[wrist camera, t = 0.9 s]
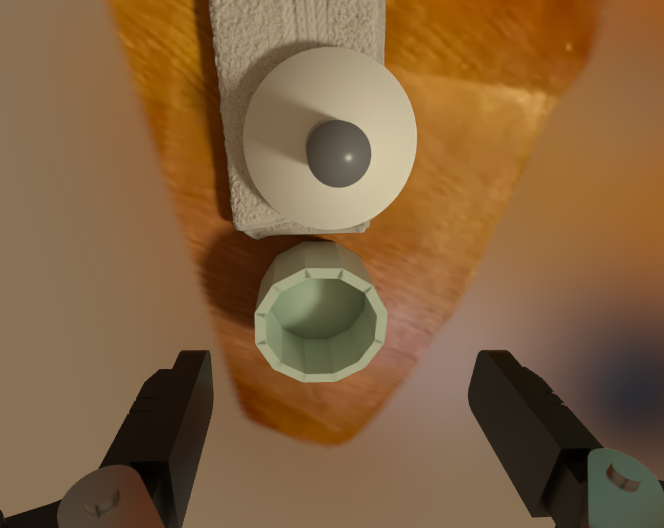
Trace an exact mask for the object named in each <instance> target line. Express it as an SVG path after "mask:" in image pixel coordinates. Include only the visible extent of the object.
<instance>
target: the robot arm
mask: <svg viewBox="0 0 664 528" xmlns="http://www.w3.org/2000/svg"><path fill="white" fill-rule="evenodd" d="M213 397H214V395H213V380H212V367H211V356H210V352H209V350H191V351H189V350H184V351H183V350H182V351H181V352H180V353H179V355H178V357H177V359H176V362H175V364H174V366H173V368H172V369H159V370H158V371H157V372H156V373H155V374H153V375H152V376H151V377H150V378H149V379H148V380H147V381H146V382H144V384H143V386H142V388H141V390H140V392H139V394H138V396H137V397H136V401H134V403H133V405H132V407H131V409H130V411H129V414H127V416H126V418H125V420H124V422H123V424H122V426H121V428H120V429H119V431H118V433H117V435H116V437H115V439H114V441H113V443H112V444H111V446H110V448H109V450H108V452H107V454H106V456H105V458H104V460H103V461H102V463H101V465H100V467H99V468H98V470H95V471H93V472H91V473H89V474H88V475H86V476H84V477H83V478H82V479H80V480H79V481H78V482H76V483H75V485H73V486H72V487H71V488H70V489H69V490H68V492H67V493H66V494H65V496H64V497H63V499H61V500H59V501H57V502H54V503H51V504H48V505H45V506H42V507H39V508H36V509H32V510H29V511H26V512H23V513H20V514H17V515H13V516H10V517H7V518H4V516H3V513H2V512H1V510H0V528H182V525H183V521H184V517H185V514H186V510H187V506H188V502H189V498H190V495H191V491H192V487H193V483H194V479H195V476H196V472H197V468H198V464H199V460H200V457H201V453H202V449H203V445H204V442H205V438H206V434H207V430H208V427H209V423H210V419H211V415H212V409H213ZM468 401H469V405H470V408H471V410H472V412H473V414H474V416H475V418H476V419H477V421H478V423H479V425H480V427H481V428H482V430H483V432H484V434H485V435H486V437H487V439H488V441H489V442H490V444H491V446H492V448H493V450H494V451H495V453H496V455H497V456H498V458H499V460H500V462H501V463H502V465H503V467H504V469H505V470H506V472H507V474H508V476H509V478H510V479H511V481H512V483H513V485H514V486H515V488H516V490H517V492H518V493H519V495H520V497H521V499H522V500H523V502H524V504H525V506H526V508H527V509H528V511H529V513H530V514H531V516H532V518H533V517H552V519H553V520H554V522H555V524H556V526H555V528H664V481H661V480H657V478H656V477H655V476H654V475H653V474H652V473H651V472H650V471H649V470H648V469H647V468H646V467H645V466H643V465H642V464H641V463H639V462H638V461H636V460H635V459H633V458H631V457H630V456H628V455H626V454H623V453H621V452H618V451H616V450H611V449H606V448H604V447H603V446H602V445H601V444H600V443H599V442H598V441H597V439H595V437H594V436H593V435H592V434H591V433H590V432H589V431H588V430H587V428H586V427H585V426H584V425H583V424H582V423H581V422H580V421H579V419H578V418H577V417H576V416H575V415H574V414H573V412H572V411H571V410H570V409H569V408H568V407H567V406H565V405H564V402H563V401H562V400H561V399H560V398H559V397H558V396H557V395H555V394H554V391H553V390H552V389H551V388H550V387H549V386H548V384H547V383H546V382H545V381H544V380H543V379H542V378H541V377H539V376H538V375H536V374H535V373H534V372H532V371H531V370H529V369H528V368H526V367H522V366H521V365H520V364H519V362H518V361H517V360H516V359H515V358H514V357H513V355H512V354H511V353H510V352H509V351H507V350H482V351H480V352H479V353H478V355H477V359H476V363H475V367H474V370H473V375H472V378H471V382H470V385H469V390H468Z"/></svg>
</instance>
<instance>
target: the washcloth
mask: <svg viewBox="0 0 664 528" xmlns="http://www.w3.org/2000/svg"><path fill="white" fill-rule="evenodd" d="M208 8H209V12H210V20H211V26H212V33H213V35H214V36H213V42H212V43H213V48H214V51H215V57H214V59H215V65H216V69H217V74H218V79H219V85H218V89H219V92H220V96H221V102H220V111H219V112H220V113H221V115H222V117H221V118H222V121H223V123H222V125H223V126H224V131H223V134H224V136H225V141H224V146H225V151H226V154H227V164H228V167H227V170H228V175H229V184H230V186H229V188H230V191H231V198H230V202H231V208H232V216H233V217H232V218H233V222H234V227H235V228H236V230H238V231H244V233H245V234H247V235H249V236H250V237H252V238H253V239H257V240H259V239H260V238H263V237H266V236H273V235H290V234H292V235H297V234H326V233H329V234H331V233H351V232H360V233H362V232H365V229H366V228H368V227H369V226H370V220H371V219H373V218H371V219H370V220H368V221H366V222H363V223H361V224H359V225H356V226H352V227H349V228H344V229H337V230H324V229H315V228H311V227H306V226H303V225H301V224H298V223H295V222H294V221H292V220H290V219H288V218H286V217H285V216H283V215H282V214H280V213H279V212H277V211H276V210H275V209H274V208H273V207H272V206H271V205H270V204H269V203H268V202H267V201H266V200H265V199H264V198H263V196H262V195H261V194H260V192H259V191H258V189H257V188H256V186H255V184H254V182H253V180H252V178H251V176H250V173H249V171H248V168H247V165H246V160H245V156H244V148H243V128H244V122H245V117H246V113H247V110H248V107H249V104H250V102H251V100H252V97H253V95H254V93H255V92H256V90H257V88H258V87H259V85H260V84H261V82H262V81H263V80H264V79H265V77H266V76H267V75H268V74H269V73H270V72H271V71H272V70H273V69H274V68H275V67H277V66H278V65H279V64H280V63H282V62H283V61H285V60H286V59H288V58H290V57H292V56H294V55H296V54H298V53H300V52H303V51H307V50H310V49H314V48H321V47H340V48H346V49H351V50H354V51H357V52H360V53H363V54H365V55H367V56H369V57H371V58H373V59H374V60H376V61H377V62H379V63H380V64H382V65H383V66H384V42H385V0H209V6H208Z"/></svg>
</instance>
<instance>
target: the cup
mask: <svg viewBox="0 0 664 528" xmlns="http://www.w3.org/2000/svg"><path fill="white" fill-rule="evenodd" d="M387 315H388V313H387V311H386V308H385V306H384V304H383V302H382V300H381V298H380V295H379V293H378V291H377V289H376V287H375V284H374V282H373V280H372V278H371V276H370V274H369V272H368V271H367V269H366V267H365V265H364V263H363V261H362V259H361V257H360V256H358V255H357V254H355V253H353V252H351V251H350V250H348V249H346V248H345V247H343V246H341V245H340V244H338V243H336V242H320V241H303V242H301V243H299V244H298V245H296V246H294V247H292V248H290V249H288V250H286V251H284V252H282V253H280V254H278V255H277V256H276V257H275V259H274V260H273V262H272V264H271V265H270V267H269V268H268V270H267V272H266V273H265V275H264V277H263V278H262V280H261V284H260V289H259V294H258V299H257V304H256V309H255V343H256V346H257V347H258V348H259V350H260V351H261V353H262V354H263V355H264V357H265V358H266V359H267V361H268V362H269V363H270V365H271V366H272V368H273V369H274V370H277V371H279V372H281V373H283V374H286V375H288V376H290V377H292V378H294V379H297V380H299V381H301V382H336V381H338V380H340V379H342V378H344V377H346V376H348V375H351V374H353V373H355V372H357V371H359V370H361V369H363V368H365V367H366V366H367V364H368V363H369V362H370V361H371V359H372V358H373V357H374V355H375V354H376V353H377V352H378V350H379V349H380V348H381V347H382V345H383V344H384V340H385V332H386V323H387Z"/></svg>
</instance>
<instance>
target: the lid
mask: <svg viewBox="0 0 664 528" xmlns="http://www.w3.org/2000/svg"><path fill="white" fill-rule="evenodd" d="M416 146H417V129H416V122H415V116H414V113H413V110H412V106H411V103H410V101H409V99H408V97H407V95H406V93H405V91H404V89H403V88H402V86H401V85H400V83H399V82H398V81H397V79H396V78H395V77H394V76H393V74H392V73H391V72H390V71H388V70H387V69H386V68H385V67H384V66H383V65H382V64H380V63H379V62H377V61H376V60H374V59H373V58H371V57H369V56H367V55H365V54H363V53H360V52H357V51H354V50H351V49H346V48H340V47H321V48H314V49H310V50H307V51H303V52H300V53H298V54H296V55H294V56H292V57H290V58H288V59H286V60H285V61H283V62H282V63H280V64H279V65H278V66H277V67H275V68H274V69H273V70H272V71H271V72H270V73H269V74H268V75H267V76H266V77H265V79H264V80H263V81H262V82H261V84H260V85H259V87H258V88H257V90H256V92H255V93H254V95H253V97H252V100H251V102H250V104H249V107H248V110H247V113H246V117H245V122H244V128H243V148H244V156H245V160H246V165H247V168H248V171H249V173H250V176H251V178H252V180H253V182H254V184H255V186H256V188H257V189H258V191H259V192H260V194H261V195H262V196H263V198H264V199H265V200H266V201H267V202H268V203H269V204H270V205H271V206H272V207H273V208H274V209H275V210H276V211H277V212H279V213H280V214H282V215H283V216H285V217H286V218H288V219H290V220H292V221H294V222H295V223H298V224H301V225H303V226H306V227H311V228H315V229H324V230H337V229H344V228H349V227H352V226H356V225H359V224H361V223H363V222H366V221H368V220H370V219H371V218H373V217H375V216H376V215H378V214H379V213H380V212H382V211H383V210H384V209H385V208H386V207H387V206H389V205H390V204H391V203H392V202H393V200H394V199H395V198H396V197H397V195H398V194H399V193H400V191H401V190H402V188H403V187H404V185H405V183H406V181H407V179H408V177H409V175H410V172H411V169H412V166H413V163H414V159H415V154H416Z"/></svg>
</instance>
